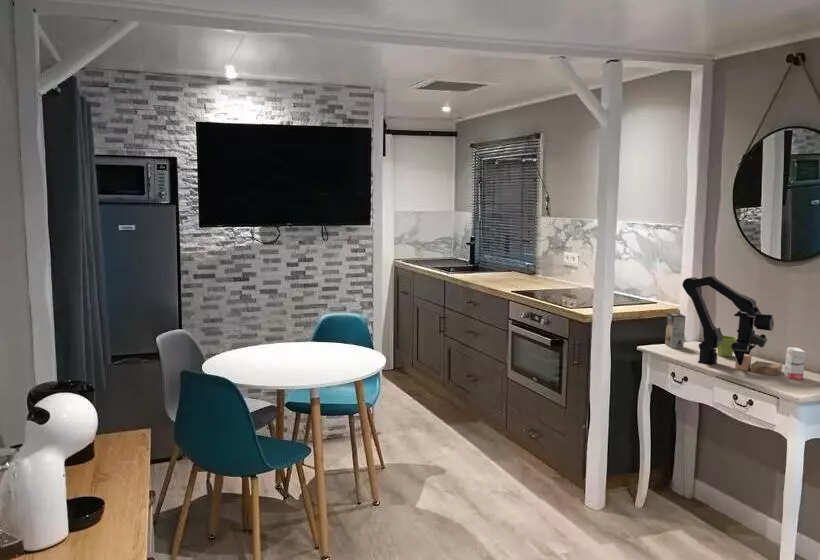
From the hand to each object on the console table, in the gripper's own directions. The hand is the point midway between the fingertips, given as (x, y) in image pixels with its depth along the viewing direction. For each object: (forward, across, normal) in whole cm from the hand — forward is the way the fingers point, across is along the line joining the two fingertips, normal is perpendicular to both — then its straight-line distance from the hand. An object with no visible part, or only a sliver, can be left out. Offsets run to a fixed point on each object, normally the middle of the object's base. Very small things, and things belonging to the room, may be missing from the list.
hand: (742, 363), depth 306 cm
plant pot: (+2, +22, +13) cm, 26 cm away
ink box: (+2, -2, -20) cm, 20 cm away
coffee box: (+3, +27, +38) cm, 47 cm away
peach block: (+2, 0, 0) cm, 2 cm away
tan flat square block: (+2, +1, -9) cm, 9 cm away
